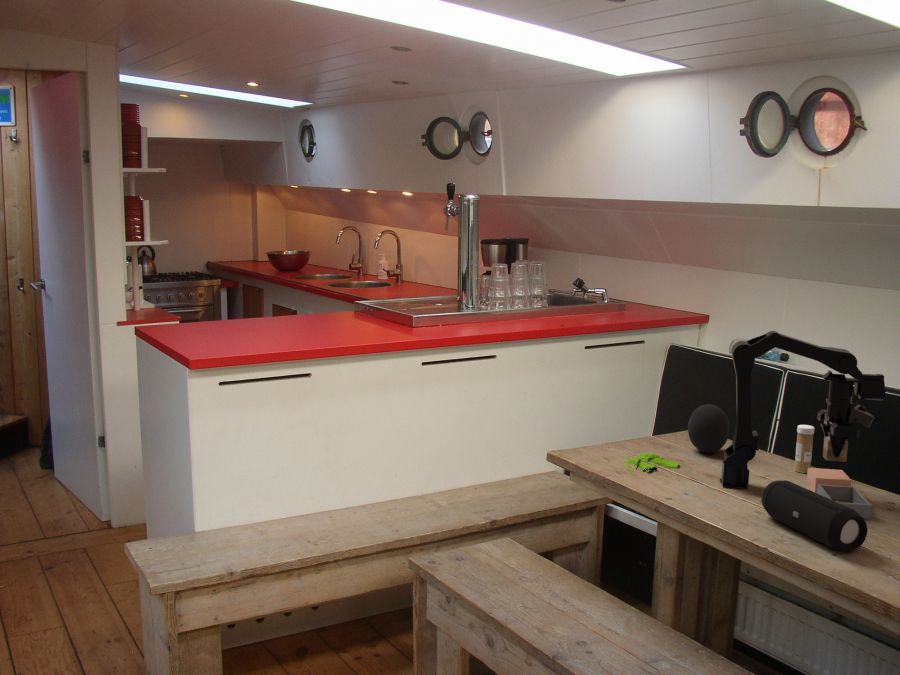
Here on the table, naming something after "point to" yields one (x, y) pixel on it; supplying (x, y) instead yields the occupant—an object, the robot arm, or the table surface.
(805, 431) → the sprinkles bottle
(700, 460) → the table surface
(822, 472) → the terracotta stand
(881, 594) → the table surface
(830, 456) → the walnut box
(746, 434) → the robot arm
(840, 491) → the charcoal bin
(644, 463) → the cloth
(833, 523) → the portable speaker
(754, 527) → the table surface
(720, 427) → the decorative egg
